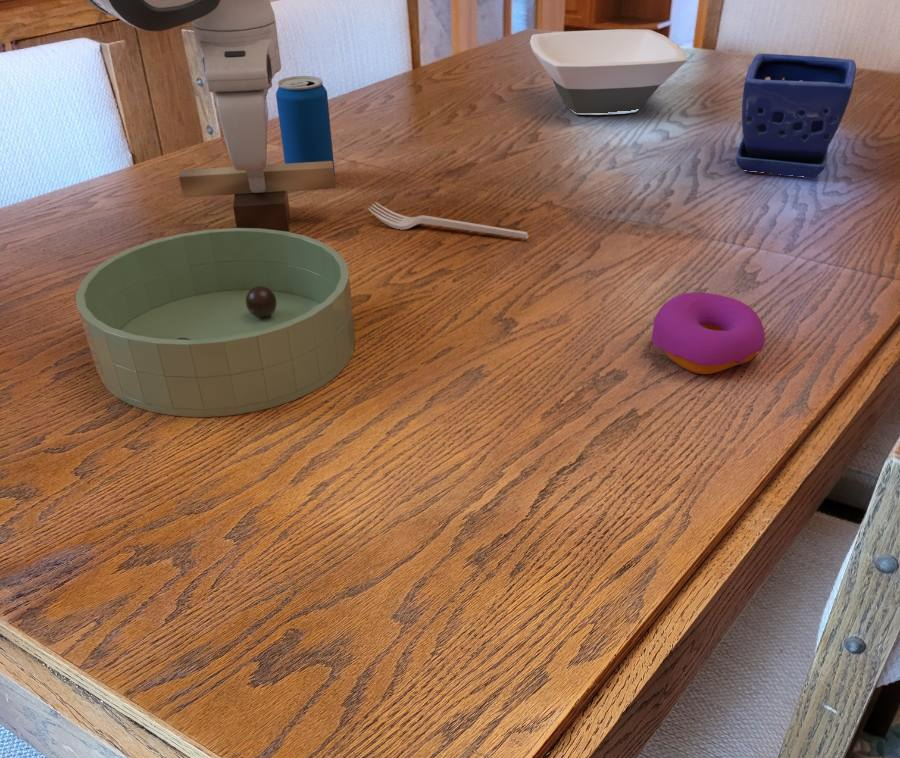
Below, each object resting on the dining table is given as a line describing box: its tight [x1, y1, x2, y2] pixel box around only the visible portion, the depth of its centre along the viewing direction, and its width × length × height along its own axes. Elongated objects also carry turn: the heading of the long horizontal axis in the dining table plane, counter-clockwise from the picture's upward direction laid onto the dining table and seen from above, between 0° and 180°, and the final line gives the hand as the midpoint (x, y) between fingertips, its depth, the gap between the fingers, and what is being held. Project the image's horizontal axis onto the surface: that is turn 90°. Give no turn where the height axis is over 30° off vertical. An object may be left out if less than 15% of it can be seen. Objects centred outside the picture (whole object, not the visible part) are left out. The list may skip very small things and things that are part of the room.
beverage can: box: [275, 75, 336, 177], centre depth 117 cm, size 6×6×12 cm
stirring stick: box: [178, 161, 336, 198], centre depth 107 cm, size 18×2×2 cm, turn 98°
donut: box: [651, 291, 766, 375], centre depth 84 cm, size 10×10×5 cm
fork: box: [367, 201, 529, 239], centre depth 108 cm, size 3×20×2 cm, turn 70°
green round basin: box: [75, 227, 356, 418], centre depth 85 cm, size 25×25×7 cm
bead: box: [246, 286, 276, 318], centre depth 90 cm, size 3×3×3 cm
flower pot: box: [735, 53, 857, 178], centre depth 119 cm, size 13×13×12 cm
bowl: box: [529, 28, 688, 113], centre depth 142 cm, size 22×23×8 cm
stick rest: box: [232, 191, 291, 232], centre depth 110 cm, size 6×10×4 cm, turn 8°
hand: (258, 185), depth 108 cm, fingers closed on stirring stick, 2 cm apart
